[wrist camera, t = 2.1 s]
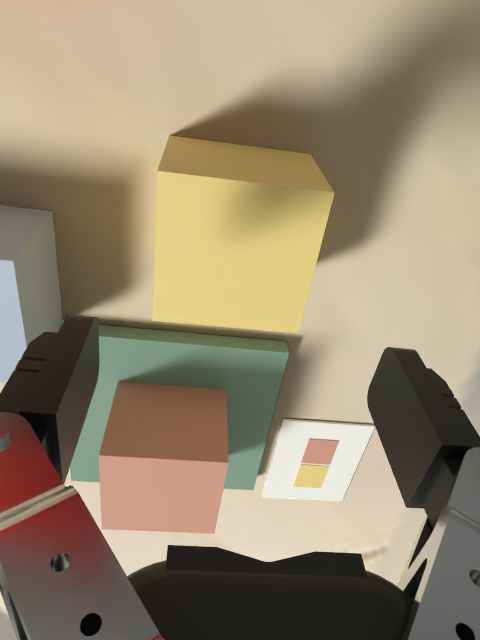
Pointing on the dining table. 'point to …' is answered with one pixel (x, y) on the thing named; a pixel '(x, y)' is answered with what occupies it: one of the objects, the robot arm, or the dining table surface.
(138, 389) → the base brick
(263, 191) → the mustard brick
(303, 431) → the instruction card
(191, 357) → the build plate
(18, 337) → the slate brick
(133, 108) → the dining table surface
